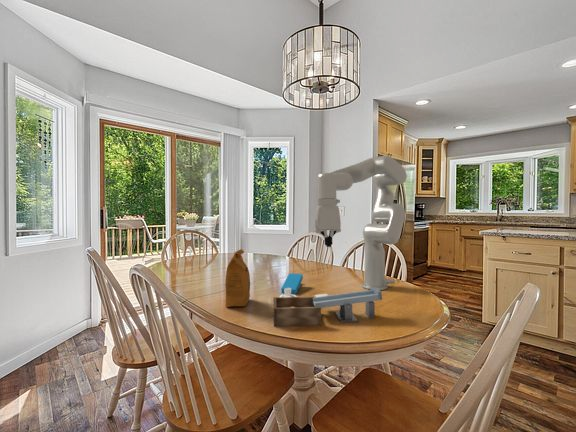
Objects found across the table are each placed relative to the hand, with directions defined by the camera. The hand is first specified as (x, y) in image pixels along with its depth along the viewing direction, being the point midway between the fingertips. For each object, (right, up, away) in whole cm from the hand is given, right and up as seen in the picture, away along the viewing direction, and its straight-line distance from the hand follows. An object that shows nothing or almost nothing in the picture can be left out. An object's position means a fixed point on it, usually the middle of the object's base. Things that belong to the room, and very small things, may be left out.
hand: (328, 246), depth 122 cm
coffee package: (-38, -24, -2) cm, 44 cm away
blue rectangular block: (-14, -23, +20) cm, 33 cm away
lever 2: (+4, -18, -13) cm, 23 cm away
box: (-14, -24, -18) cm, 33 cm away
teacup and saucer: (-20, -24, +5) cm, 31 cm away
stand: (+7, -24, -16) cm, 30 cm away
